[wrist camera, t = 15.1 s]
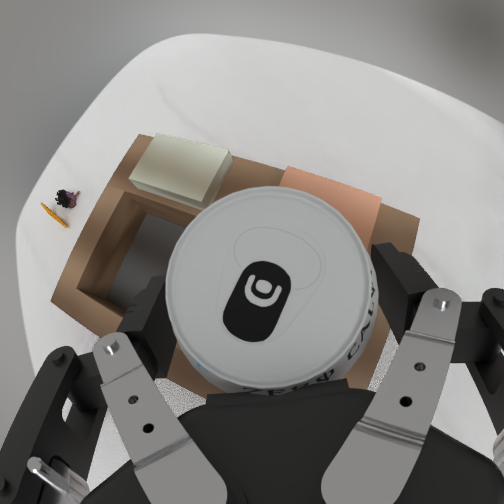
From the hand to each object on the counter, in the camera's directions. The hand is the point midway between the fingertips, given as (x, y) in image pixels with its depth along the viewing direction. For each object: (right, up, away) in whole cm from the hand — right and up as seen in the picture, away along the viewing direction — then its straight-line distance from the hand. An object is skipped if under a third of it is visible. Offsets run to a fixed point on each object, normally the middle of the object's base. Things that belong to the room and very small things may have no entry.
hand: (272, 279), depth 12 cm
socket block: (-2, -1, +11) cm, 11 cm away
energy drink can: (+2, -4, +9) cm, 10 cm away
